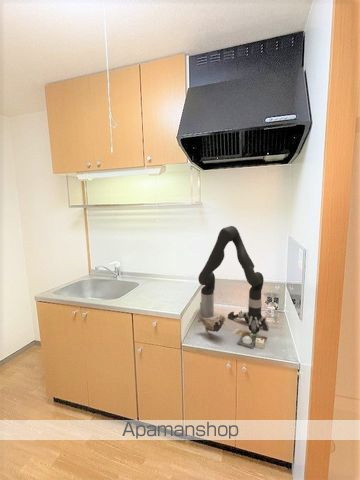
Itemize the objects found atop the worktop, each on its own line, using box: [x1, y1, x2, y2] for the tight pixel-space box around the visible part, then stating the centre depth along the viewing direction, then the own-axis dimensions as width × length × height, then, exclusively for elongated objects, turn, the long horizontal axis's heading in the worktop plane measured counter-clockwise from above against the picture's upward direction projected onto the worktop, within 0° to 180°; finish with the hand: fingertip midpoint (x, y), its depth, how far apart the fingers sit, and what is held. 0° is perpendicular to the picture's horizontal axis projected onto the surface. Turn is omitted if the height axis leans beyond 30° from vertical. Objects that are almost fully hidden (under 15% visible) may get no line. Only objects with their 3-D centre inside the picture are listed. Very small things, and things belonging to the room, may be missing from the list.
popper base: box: [236, 335, 256, 350], centre depth 143 cm, size 9×9×2 cm
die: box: [254, 338, 265, 350], centre depth 140 cm, size 4×4×5 cm
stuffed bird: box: [197, 314, 226, 340], centre depth 149 cm, size 10×20×17 cm, turn 65°
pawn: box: [250, 320, 258, 334], centre depth 148 cm, size 4×4×9 cm
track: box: [232, 328, 269, 343], centre depth 151 cm, size 20×6×1 cm, turn 57°
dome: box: [242, 336, 252, 345], centre depth 143 cm, size 5×5×5 cm
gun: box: [227, 310, 270, 332], centre depth 165 cm, size 5×27×15 cm, turn 51°
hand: (254, 330), depth 149 cm, fingers closed on pawn, 3 cm apart
